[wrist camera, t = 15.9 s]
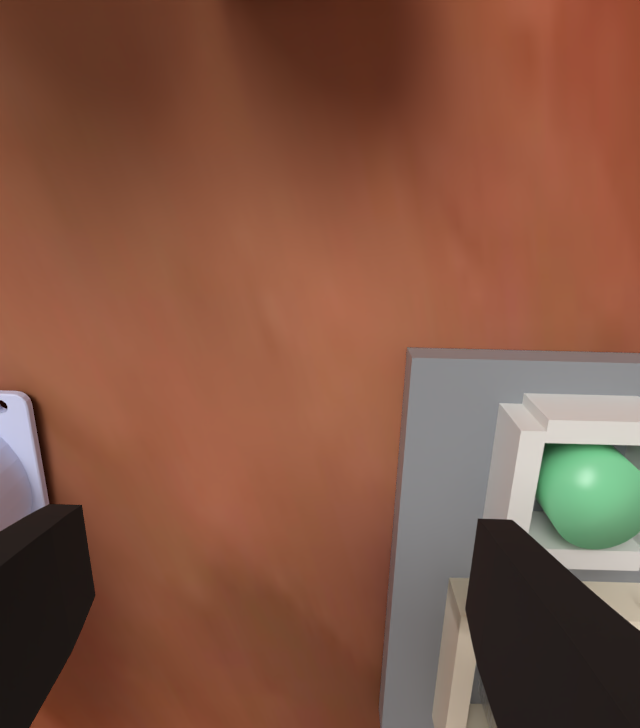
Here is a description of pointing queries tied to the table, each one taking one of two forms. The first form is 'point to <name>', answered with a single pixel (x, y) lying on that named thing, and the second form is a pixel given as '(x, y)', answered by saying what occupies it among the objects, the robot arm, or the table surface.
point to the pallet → (488, 504)
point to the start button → (589, 494)
